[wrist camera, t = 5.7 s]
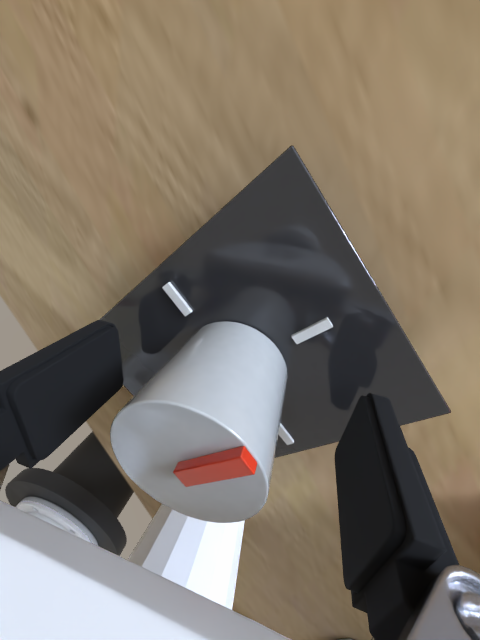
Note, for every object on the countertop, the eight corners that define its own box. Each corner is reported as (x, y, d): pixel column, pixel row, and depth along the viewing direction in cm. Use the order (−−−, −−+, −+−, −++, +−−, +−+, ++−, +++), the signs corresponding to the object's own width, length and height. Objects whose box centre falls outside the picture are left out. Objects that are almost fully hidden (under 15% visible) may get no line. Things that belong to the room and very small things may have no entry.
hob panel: (223, 432, 16) (204, 478, 14) (122, 313, 15) (77, 338, 12) (420, 364, 11) (454, 417, 8) (299, 160, 9) (291, 142, 6)
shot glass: (256, 470, 17) (222, 617, 11) (256, 526, 20) (229, 668, 14) (167, 449, 19) (97, 565, 13) (179, 503, 22) (125, 619, 16)
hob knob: (222, 421, 12) (172, 539, 8) (165, 347, 11) (71, 436, 7) (308, 393, 10) (302, 532, 6) (247, 301, 9) (186, 385, 5)
